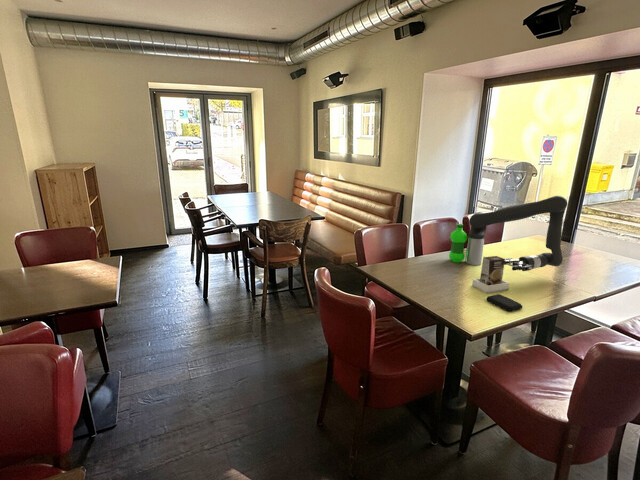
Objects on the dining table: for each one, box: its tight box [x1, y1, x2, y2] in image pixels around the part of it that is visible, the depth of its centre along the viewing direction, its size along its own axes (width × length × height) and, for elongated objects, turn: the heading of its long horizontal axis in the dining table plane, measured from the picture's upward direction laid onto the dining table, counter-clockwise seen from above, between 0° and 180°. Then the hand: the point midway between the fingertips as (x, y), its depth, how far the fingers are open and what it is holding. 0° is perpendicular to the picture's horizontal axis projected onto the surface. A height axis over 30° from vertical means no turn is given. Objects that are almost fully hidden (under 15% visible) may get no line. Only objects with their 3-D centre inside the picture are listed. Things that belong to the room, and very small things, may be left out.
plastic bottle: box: [448, 223, 468, 263], centre depth 230 cm, size 10×10×25 cm
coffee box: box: [479, 255, 506, 286], centre depth 187 cm, size 9×6×16 cm
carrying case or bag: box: [486, 293, 524, 313], centre depth 170 cm, size 11×3×15 cm
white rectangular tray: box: [471, 277, 510, 294], centre depth 189 cm, size 11×14×4 cm
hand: (506, 265), depth 190 cm, fingers open, 8 cm apart
